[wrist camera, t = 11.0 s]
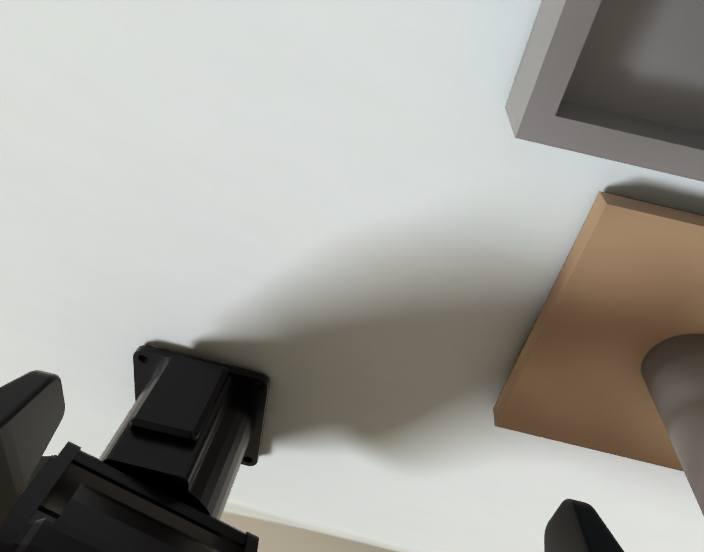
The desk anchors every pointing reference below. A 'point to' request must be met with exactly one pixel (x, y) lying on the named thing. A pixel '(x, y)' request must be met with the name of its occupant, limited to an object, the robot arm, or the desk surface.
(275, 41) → the desk surface
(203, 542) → the robot arm
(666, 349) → the stake
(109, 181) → the desk surface
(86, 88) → the desk surface
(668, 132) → the tray
